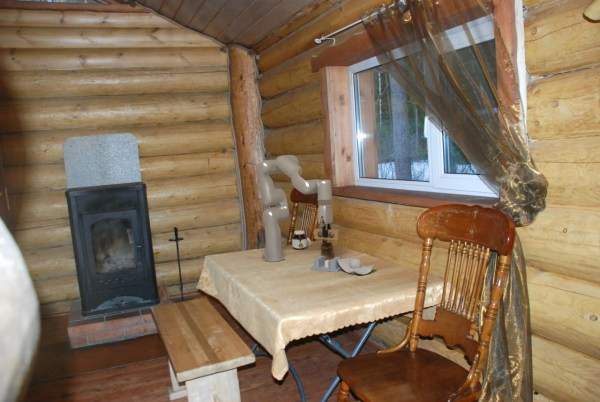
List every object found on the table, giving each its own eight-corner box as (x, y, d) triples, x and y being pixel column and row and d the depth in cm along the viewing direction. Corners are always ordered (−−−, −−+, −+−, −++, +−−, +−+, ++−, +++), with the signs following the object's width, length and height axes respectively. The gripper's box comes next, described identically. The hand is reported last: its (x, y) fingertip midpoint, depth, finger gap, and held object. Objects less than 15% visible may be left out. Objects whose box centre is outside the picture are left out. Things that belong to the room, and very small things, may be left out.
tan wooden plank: (314, 238, 259) (313, 229, 258) (317, 237, 262) (316, 228, 261) (337, 240, 252) (337, 231, 252) (340, 239, 255) (340, 229, 255)
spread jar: (291, 250, 312) (290, 232, 310) (294, 246, 323) (293, 229, 322) (309, 249, 310) (308, 232, 308) (312, 246, 321) (311, 229, 319)
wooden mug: (331, 257, 285) (330, 228, 283) (337, 262, 271) (335, 231, 269) (316, 259, 283) (315, 229, 281) (322, 264, 270) (320, 233, 268)
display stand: (310, 269, 259) (310, 259, 258) (318, 265, 268) (318, 255, 267) (337, 272, 251) (337, 261, 251) (344, 267, 260) (344, 256, 259)
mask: (355, 277, 239) (379, 275, 246) (356, 263, 239) (379, 261, 246) (334, 269, 257) (356, 267, 264) (335, 255, 256) (357, 254, 263)
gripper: (325, 201, 264) (327, 233, 266) (312, 204, 250) (314, 239, 252) (337, 200, 261) (339, 233, 263) (325, 204, 246) (327, 239, 248)
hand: (327, 236), depth 257 cm, fingers closed on tan wooden plank, 3 cm apart
